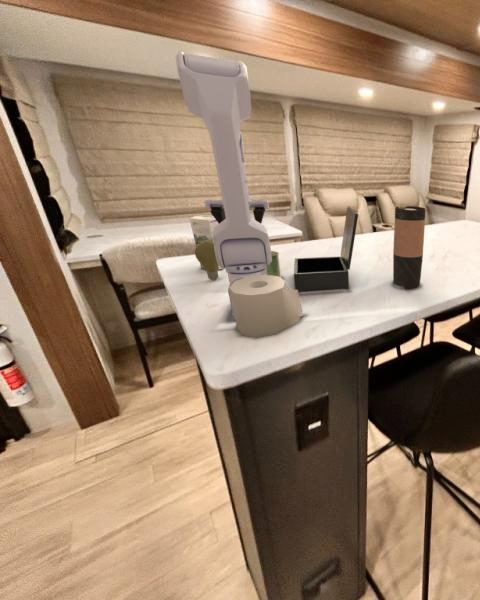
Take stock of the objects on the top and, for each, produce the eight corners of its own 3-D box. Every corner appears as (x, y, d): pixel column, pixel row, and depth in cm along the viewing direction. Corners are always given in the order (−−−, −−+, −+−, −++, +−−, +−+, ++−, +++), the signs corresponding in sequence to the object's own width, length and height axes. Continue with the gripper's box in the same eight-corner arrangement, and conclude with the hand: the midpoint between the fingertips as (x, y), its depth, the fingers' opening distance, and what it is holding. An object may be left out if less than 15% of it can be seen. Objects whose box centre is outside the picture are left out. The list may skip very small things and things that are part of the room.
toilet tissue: (313, 314, 65) (310, 276, 61) (259, 343, 54) (252, 299, 50) (282, 303, 69) (278, 266, 65) (226, 328, 58) (217, 286, 54)
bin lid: (355, 213, 70) (358, 214, 70) (347, 206, 82) (349, 206, 82) (346, 269, 75) (349, 269, 75) (340, 254, 87) (342, 255, 87)
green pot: (281, 282, 81) (277, 255, 78) (257, 283, 80) (253, 256, 77) (282, 275, 86) (279, 250, 83) (260, 276, 85) (256, 251, 82)
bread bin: (296, 295, 74) (293, 274, 71) (296, 276, 85) (294, 258, 83) (348, 291, 77) (348, 271, 75) (342, 274, 89) (341, 256, 87)
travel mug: (418, 291, 79) (423, 210, 71) (389, 288, 80) (391, 208, 72) (422, 281, 86) (427, 207, 78) (395, 278, 87) (398, 205, 79)
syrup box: (231, 264, 93) (222, 215, 87) (219, 270, 88) (208, 218, 82) (213, 263, 94) (203, 214, 88) (200, 269, 88) (188, 217, 82)
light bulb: (196, 280, 80) (187, 242, 76) (217, 275, 84) (209, 238, 80) (210, 285, 77) (201, 245, 73) (230, 278, 82) (223, 241, 78)
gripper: (267, 181, 82) (273, 232, 88) (205, 180, 78) (216, 233, 84) (264, 183, 76) (271, 238, 82) (197, 182, 72) (209, 239, 78)
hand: (243, 236), depth 82 cm, fingers open, 7 cm apart
